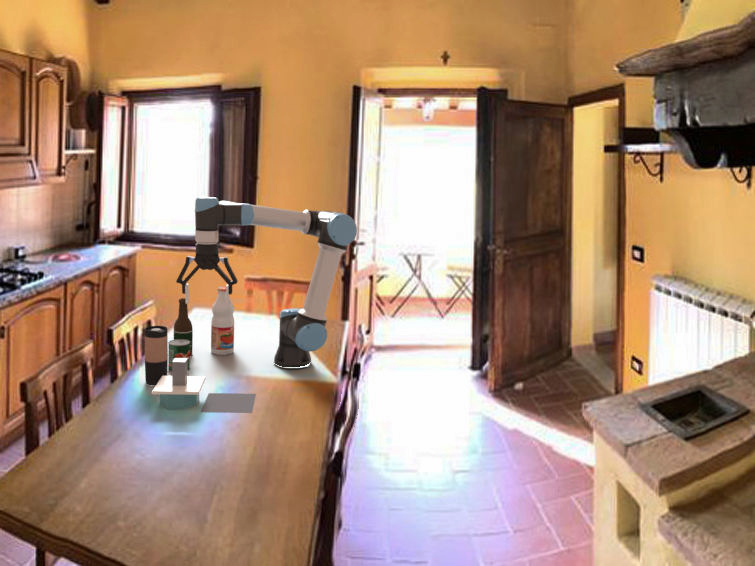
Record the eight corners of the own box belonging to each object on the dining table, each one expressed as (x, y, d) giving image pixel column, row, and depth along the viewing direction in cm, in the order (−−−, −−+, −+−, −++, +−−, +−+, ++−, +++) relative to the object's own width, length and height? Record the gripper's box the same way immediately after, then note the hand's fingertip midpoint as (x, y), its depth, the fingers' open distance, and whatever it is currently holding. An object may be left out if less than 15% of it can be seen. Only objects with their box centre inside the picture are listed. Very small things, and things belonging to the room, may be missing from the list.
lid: (205, 379, 192) (205, 353, 190) (198, 394, 178) (198, 367, 176) (162, 378, 190) (162, 352, 188) (152, 394, 176) (151, 366, 174)
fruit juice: (219, 347, 246) (220, 284, 241) (238, 351, 243) (239, 287, 238) (206, 353, 238) (207, 288, 233) (224, 356, 234) (226, 291, 229)
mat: (256, 395, 196) (256, 393, 196) (251, 414, 180) (251, 412, 180) (208, 394, 194) (208, 393, 194) (200, 413, 178) (200, 412, 178)
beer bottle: (189, 359, 229) (189, 301, 224) (170, 357, 229) (170, 300, 224) (195, 353, 236) (196, 297, 232) (177, 352, 236) (177, 296, 232)
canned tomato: (183, 374, 212) (183, 346, 210) (164, 371, 213) (164, 343, 211) (193, 367, 219) (194, 340, 217) (175, 365, 221) (175, 338, 219)
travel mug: (148, 378, 205) (148, 325, 202) (170, 378, 206) (170, 326, 202) (141, 385, 198) (141, 330, 194) (164, 386, 198) (164, 331, 195)
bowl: (201, 397, 191) (201, 380, 190) (194, 410, 180) (194, 393, 179) (165, 396, 190) (165, 379, 189) (156, 410, 178) (156, 392, 177)
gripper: (245, 242, 198) (245, 301, 202) (171, 240, 194) (172, 300, 198) (243, 245, 190) (243, 306, 194) (166, 243, 186) (167, 305, 191)
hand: (207, 303), depth 196 cm, fingers open, 13 cm apart
